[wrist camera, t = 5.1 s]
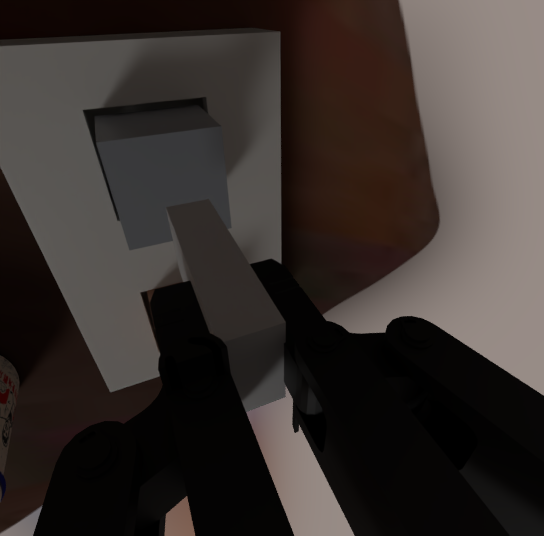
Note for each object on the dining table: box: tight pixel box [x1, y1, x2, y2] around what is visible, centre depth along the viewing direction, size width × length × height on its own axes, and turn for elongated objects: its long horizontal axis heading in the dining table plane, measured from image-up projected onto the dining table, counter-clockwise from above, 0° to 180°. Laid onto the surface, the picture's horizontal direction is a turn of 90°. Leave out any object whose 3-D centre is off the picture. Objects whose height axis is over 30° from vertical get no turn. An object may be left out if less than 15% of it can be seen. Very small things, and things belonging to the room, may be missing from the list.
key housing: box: [0, 28, 281, 392], centre depth 24 cm, size 22×14×4 cm, turn 1°
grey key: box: [94, 105, 232, 250], centre depth 18 cm, size 5×5×4 cm
